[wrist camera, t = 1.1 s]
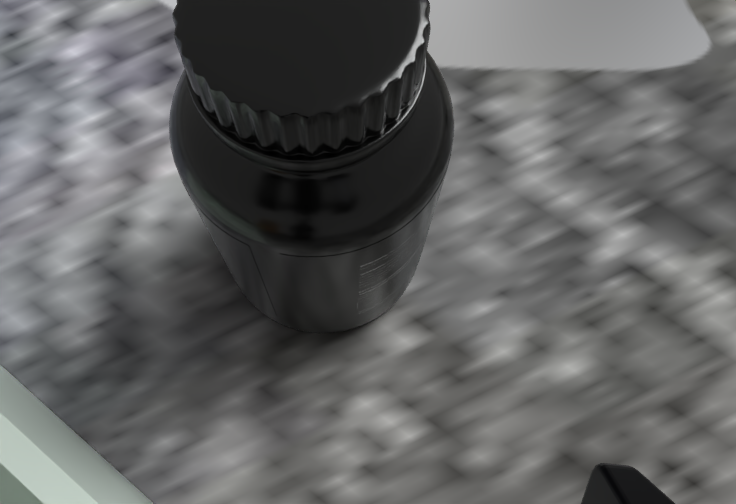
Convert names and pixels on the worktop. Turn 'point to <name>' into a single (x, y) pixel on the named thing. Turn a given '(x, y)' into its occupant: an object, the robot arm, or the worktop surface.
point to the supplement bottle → (312, 148)
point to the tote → (51, 457)
